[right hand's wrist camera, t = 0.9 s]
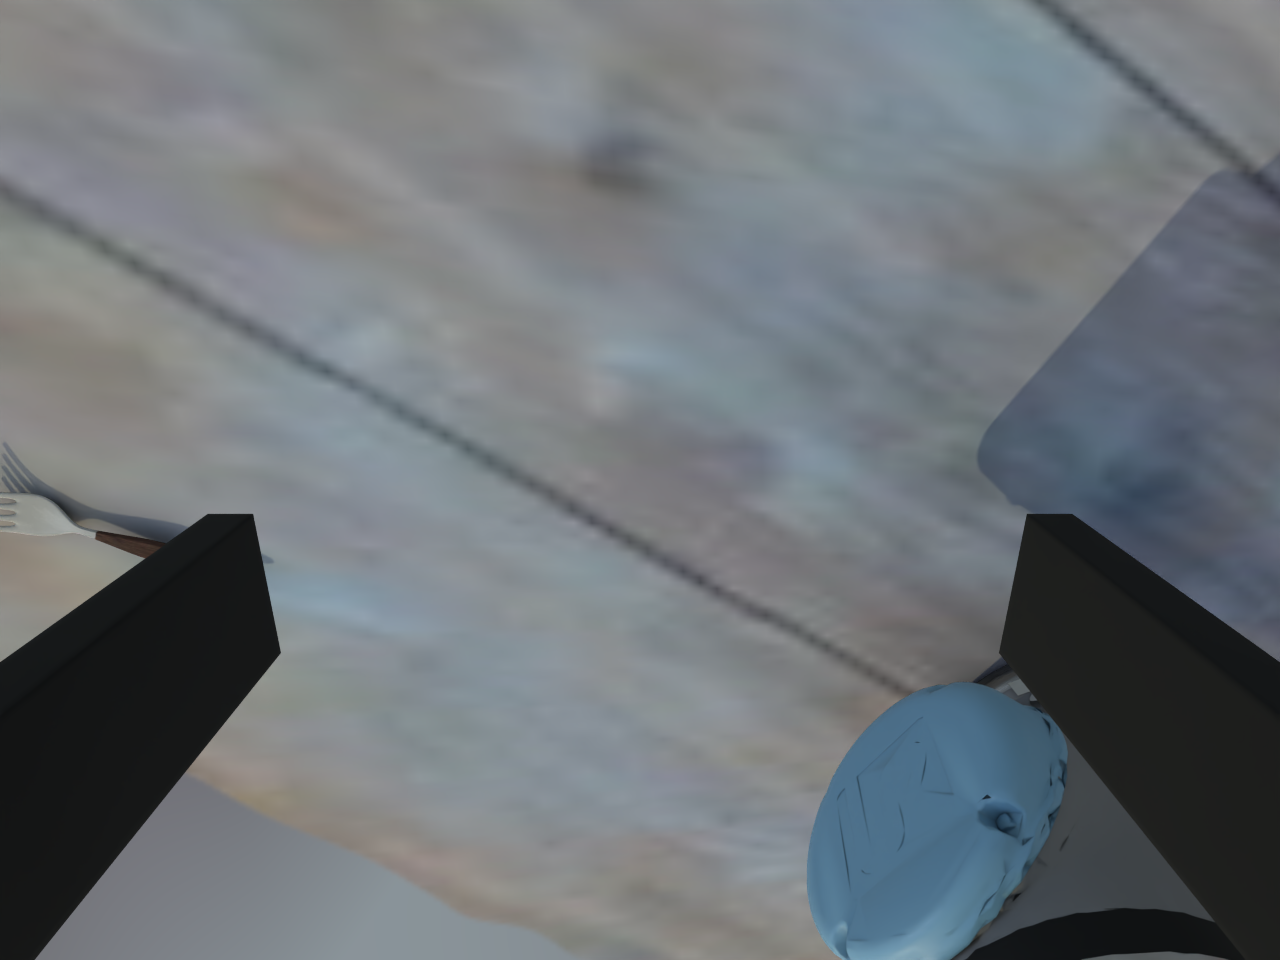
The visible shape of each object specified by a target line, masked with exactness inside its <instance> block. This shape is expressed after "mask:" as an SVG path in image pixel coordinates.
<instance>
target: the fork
mask: <svg viewBox="0 0 1280 960" xmlns="http://www.w3.org/2000/svg"><path fill="white" fill-rule="evenodd" d="M0 498H8V499H13V500H16V503H11V504H0V509H5V510H12V511H15V512H16V513H15V514H13V515H0V520H2V521H10V522H14V523H15V525H13V526H0V531H1V532H13V533H20V534H28V535H36V536H54V535H61V534H67V533H77V534H81V535H85V536H88V537H90V538H93V539H96V540H98V541H101V542H104V543H106V544H109V545H111V546H114V547H116V548H119V549H122V550H124V551H127V552H129V553H132V554H135V555H137V556H140V557H143V558H147V557H148V556H150V555H151V554H153V553H154V552H155V551H157V550H158V549H160V548H161V547H162V546H164V545H165V543H162V542H158V541H154V540H149V539H143V538H138V537H132V536H126V535H120V534H114V533H108V532H103V531H97V530H92V529H87V528H84V527H81V526H79V525H78V524H76V523H75V522H74V521H72V520H71V519H70V518H69V517H68V515H67V514H66V513H65V512H64V511H63V510H62V509H61V508H60V507H59V506H58V505H57V504H56V503H54V502H53V501H52V500H50V499H48V498H46V497H44V496H41V495H37V494H31V493H9V492H0Z"/></svg>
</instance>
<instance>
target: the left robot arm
mask: <svg viewBox="0 0 1280 960" xmlns="http://www.w3.org/2000/svg"><path fill="white" fill-rule="evenodd" d="M807 892H808V899H809V904H810V909H811V913H812V916H813V920H814V922H815V924H816V927H817V929H818V931H819V933H820V935H821V937H822V939H823V940H824V942H825V943H826V944H827V946H828V947H829V948H830V949H831V950H832V951H833V952H834V953H835V954H836V955H837V956H838V957H840V958H841V959H843V960H1245V959H1244V957H1243V956H1242V955H1241V954H1240V952H1239V951H1238V950H1237V949H1236V947H1235V946H1234V945H1233V944H1232V942H1231V941H1230V940H1229V939H1228V937H1227V936H1226V935H1225V934H1224V932H1223V931H1222V930H1221V929H1220V927H1219V926H1218V925H1217V924H1216V922H1215V921H1214V920H1213V919H1212V917H1211V916H1210V915H1209V914H1208V912H1207V911H1206V910H1205V909H1204V907H1203V906H1202V905H1201V904H1200V903H1199V901H1198V900H1197V899H1196V898H1195V896H1194V895H1193V894H1192V893H1191V891H1190V890H1189V889H1188V888H1187V886H1186V885H1185V884H1184V883H1183V881H1182V880H1181V879H1180V878H1179V876H1178V875H1177V874H1176V873H1175V871H1174V870H1173V869H1172V868H1171V866H1170V865H1169V864H1168V863H1167V861H1166V860H1165V859H1164V858H1163V856H1162V855H1161V854H1160V853H1159V851H1158V850H1157V849H1156V848H1155V846H1154V845H1153V844H1152V843H1151V841H1150V840H1149V839H1148V838H1147V836H1146V835H1145V834H1144V833H1143V831H1142V830H1141V829H1140V828H1139V827H1138V825H1137V824H1136V823H1135V822H1134V820H1133V819H1132V818H1131V817H1130V815H1129V814H1128V813H1127V812H1126V810H1125V809H1124V808H1123V807H1122V805H1121V804H1120V803H1119V802H1118V800H1117V799H1116V798H1115V797H1114V795H1113V794H1112V793H1111V792H1110V790H1109V789H1108V788H1107V787H1106V785H1105V784H1104V783H1103V782H1102V780H1101V779H1100V778H1099V777H1098V775H1097V774H1096V773H1095V772H1094V770H1093V769H1092V768H1091V767H1090V765H1089V764H1088V763H1087V762H1086V760H1085V759H1084V758H1083V757H1082V755H1081V754H1080V753H1079V752H1078V751H1077V749H1076V748H1075V747H1074V746H1073V744H1072V743H1071V742H1070V741H1069V739H1068V738H1067V737H1066V736H1065V734H1064V733H1063V732H1062V731H1061V729H1060V728H1059V727H1058V726H1057V724H1056V723H1055V722H1054V721H1053V719H1052V718H1051V717H1050V716H1049V714H1048V713H1047V712H1046V711H1045V709H1044V708H1043V707H1042V706H1041V704H1040V703H1039V702H1038V701H1037V699H1036V698H1035V697H1034V696H1033V694H1032V693H1031V692H1030V691H1029V689H1028V688H1027V687H1026V686H1025V684H1024V683H1023V682H1022V681H1021V679H1020V678H1019V677H1018V676H1017V675H1016V673H1015V672H1014V671H1013V670H1012V668H1011V667H1010V666H1009V665H1006V666H1004V667H1002V668H1000V669H998V670H996V671H994V672H992V673H991V674H989V675H988V676H986V677H984V678H983V679H981V680H980V681H979V682H977V683H971V682H955V683H951V684H949V685H947V686H946V685H936V686H932V687H928V688H924V689H921V690H919V691H917V692H914V693H913V694H911V695H909V696H907V697H905V698H903V699H902V700H900V701H899V702H897V703H896V704H894V705H893V706H891V707H890V708H889V709H888V710H886V711H885V712H884V713H883V714H882V715H880V716H879V717H878V718H877V719H876V720H875V721H874V722H873V723H872V724H871V725H870V726H869V727H868V728H867V729H866V730H865V731H864V732H863V733H862V735H861V736H860V737H859V738H858V739H857V740H856V742H855V743H854V744H853V746H852V747H851V748H850V750H849V751H848V753H847V754H846V756H845V757H844V759H843V760H842V762H841V763H840V765H839V767H838V769H837V770H836V772H835V774H834V776H833V778H832V780H831V782H830V785H829V788H828V790H827V793H826V795H825V796H824V798H823V800H822V802H821V804H820V807H819V810H818V813H817V816H816V820H815V823H814V827H813V831H812V835H811V839H810V845H809V851H808V860H807Z"/></svg>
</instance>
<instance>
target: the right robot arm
mask: <svg viewBox="0 0 1280 960" xmlns="http://www.w3.org/2000/svg"><path fill="white" fill-rule="evenodd" d="M280 653H281V651H280V646H279V641H278V636H277V631H276V626H275V621H274V616H273V611H272V606H271V601H270V596H269V591H268V586H267V581H266V576H265V571H264V566H263V561H262V556H261V551H260V546H259V541H258V536H257V531H256V526H255V521H254V516H253V514H207V515H206V516H204V517H203V518H202V519H200V520H199V521H197V522H196V523H195V524H193V525H192V526H190V527H189V528H188V529H186V530H185V531H183V532H182V533H181V534H179V535H178V536H176V537H175V538H174V539H172V540H171V541H169V542H168V543H167V544H165V545H164V546H162V547H161V548H160V549H158V550H157V551H155V552H154V553H153V554H151V555H150V556H148V557H147V558H146V559H144V560H143V561H141V562H140V563H139V564H137V565H136V566H134V567H133V568H132V569H130V570H129V571H127V572H126V573H125V574H123V575H122V576H120V577H119V578H118V579H116V580H115V581H113V582H112V583H111V584H109V585H108V586H106V587H105V588H104V589H102V590H101V591H99V592H98V593H97V594H95V595H94V596H92V597H91V598H90V599H88V600H87V601H85V602H84V603H83V604H81V605H80V606H78V607H77V608H76V609H74V610H73V611H71V612H70V613H69V614H67V615H66V616H64V617H63V618H62V619H60V620H59V621H57V622H56V623H55V624H53V625H52V626H50V627H49V628H47V629H46V630H45V631H43V632H42V633H40V634H39V635H38V636H36V637H35V638H33V639H32V640H31V641H29V642H28V643H26V644H25V645H24V646H22V647H21V648H19V649H18V650H17V651H15V652H14V653H12V654H11V655H10V656H8V657H7V658H5V659H4V660H3V661H1V662H0V960H35V959H36V957H37V956H38V955H39V954H40V952H41V951H42V950H43V949H44V947H45V946H46V945H47V944H48V942H49V941H50V940H51V939H52V937H53V936H54V935H55V934H56V932H57V931H58V930H59V929H60V927H61V926H62V925H63V924H64V922H65V921H66V920H67V919H68V917H69V916H70V915H71V914H72V912H73V911H74V910H75V909H76V907H77V906H78V905H79V904H80V902H81V901H82V900H83V899H84V898H85V896H86V895H87V894H88V893H89V891H90V890H91V889H92V887H93V886H94V885H95V884H96V883H97V881H98V880H99V879H100V878H101V876H102V875H103V874H104V873H105V871H106V870H107V869H108V868H109V866H110V865H111V864H112V863H113V861H114V860H115V859H116V858H117V856H118V855H119V854H120V853H121V851H122V850H123V849H124V848H125V846H126V845H127V844H128V843H129V841H130V840H131V839H132V838H133V836H134V835H135V834H136V833H137V831H138V830H139V829H140V828H141V826H142V825H143V824H144V823H145V822H146V820H147V819H148V818H149V817H150V815H151V814H152V813H153V812H154V810H155V809H156V808H157V807H158V805H159V804H160V803H161V802H162V800H163V799H164V798H165V797H166V795H167V794H168V793H169V792H170V790H171V789H172V788H173V787H174V785H175V784H176V783H177V782H178V780H179V779H180V778H181V777H182V775H183V774H184V773H185V772H186V770H187V769H188V768H189V767H190V765H191V764H192V763H193V762H194V760H195V759H196V758H197V757H198V755H199V754H200V753H201V752H202V751H203V749H204V748H205V747H206V746H207V744H208V743H209V742H210V741H211V739H212V738H213V737H214V736H215V734H216V733H217V732H218V731H219V729H220V728H221V727H222V726H223V724H224V723H225V722H226V721H227V719H228V718H229V717H230V716H231V714H232V713H233V712H234V711H235V709H236V708H237V707H238V706H239V704H240V703H241V702H242V701H243V699H244V698H245V697H246V696H247V694H248V693H249V692H250V691H251V689H252V688H253V687H254V686H255V684H256V683H257V682H258V681H259V679H260V678H261V677H262V676H263V675H264V673H265V672H266V671H267V670H268V668H269V667H270V666H271V665H272V663H273V662H274V661H275V660H276V658H277V657H278V656H279V655H280ZM999 653H1000V655H1001V656H1002V657H1003V658H1004V660H1005V661H1006V662H1007V663H1008V665H1009V666H1010V667H1011V668H1012V670H1013V671H1014V672H1015V673H1016V675H1017V676H1018V677H1019V678H1020V679H1021V681H1022V682H1023V683H1024V684H1025V686H1026V687H1027V688H1028V689H1029V691H1030V692H1031V693H1032V694H1033V696H1034V697H1035V698H1036V699H1037V701H1038V702H1039V703H1040V704H1041V706H1042V707H1043V708H1044V709H1045V711H1046V712H1047V713H1048V714H1049V716H1050V717H1051V718H1052V719H1053V721H1054V722H1055V723H1056V724H1057V726H1058V727H1059V728H1060V729H1061V731H1062V732H1063V733H1064V734H1065V736H1066V737H1067V738H1068V739H1069V741H1070V742H1071V743H1072V744H1073V746H1074V747H1075V748H1076V749H1077V751H1078V752H1079V753H1080V754H1081V755H1082V757H1083V758H1084V759H1085V760H1086V762H1087V763H1088V764H1089V765H1090V767H1091V768H1092V769H1093V770H1094V772H1095V773H1096V774H1097V775H1098V777H1099V778H1100V779H1101V780H1102V782H1103V783H1104V784H1105V785H1106V787H1107V788H1108V789H1109V790H1110V792H1111V793H1112V794H1113V795H1114V797H1115V798H1116V799H1117V800H1118V802H1119V803H1120V804H1121V805H1122V807H1123V808H1124V809H1125V810H1126V812H1127V813H1128V814H1129V815H1130V817H1131V818H1132V819H1133V820H1134V822H1135V823H1136V824H1137V825H1138V827H1139V828H1140V829H1141V830H1142V831H1143V833H1144V834H1145V835H1146V836H1147V838H1148V839H1149V840H1150V841H1151V843H1152V844H1153V845H1154V846H1155V848H1156V849H1157V850H1158V851H1159V853H1160V854H1161V855H1162V856H1163V858H1164V859H1165V860H1166V861H1167V863H1168V864H1169V865H1170V866H1171V868H1172V869H1173V870H1174V871H1175V873H1176V874H1177V875H1178V876H1179V878H1180V879H1181V880H1182V881H1183V883H1184V884H1185V885H1186V886H1187V888H1188V889H1189V890H1190V891H1191V893H1192V894H1193V895H1194V896H1195V898H1196V899H1197V900H1198V901H1199V903H1200V904H1201V905H1202V906H1203V907H1204V909H1205V910H1206V911H1207V912H1208V914H1209V915H1210V916H1211V917H1212V919H1213V920H1214V921H1215V922H1216V924H1217V925H1218V926H1219V927H1220V929H1221V930H1222V931H1223V932H1224V934H1225V935H1226V936H1227V937H1228V939H1229V940H1230V941H1231V942H1232V944H1233V945H1234V946H1235V947H1236V949H1237V950H1238V951H1239V952H1240V954H1241V955H1242V956H1243V957H1244V959H1245V960H1280V662H1279V661H1277V660H1276V659H1275V658H1273V657H1272V656H1270V655H1269V654H1268V653H1266V652H1265V651H1263V650H1262V649H1261V648H1259V647H1258V646H1256V645H1255V644H1254V643H1252V642H1251V641H1249V640H1248V639H1247V638H1245V637H1244V636H1242V635H1241V634H1240V633H1238V632H1237V631H1235V630H1234V629H1232V628H1231V627H1230V626H1228V625H1227V624H1225V623H1224V622H1223V621H1221V620H1220V619H1218V618H1217V617H1216V616H1214V615H1213V614H1211V613H1210V612H1209V611H1207V610H1206V609H1204V608H1203V607H1202V606H1200V605H1199V604H1197V603H1196V602H1195V601H1193V600H1192V599H1190V598H1189V597H1188V596H1186V595H1185V594H1183V593H1182V592H1181V591H1179V590H1178V589H1176V588H1175V587H1174V586H1172V585H1171V584H1169V583H1168V582H1167V581H1165V580H1164V579H1162V578H1161V577H1160V576H1158V575H1157V574H1155V573H1154V572H1153V571H1151V570H1150V569H1148V568H1147V567H1146V566H1144V565H1143V564H1141V563H1140V562H1139V561H1137V560H1136V559H1134V558H1133V557H1132V556H1130V555H1129V554H1127V553H1126V552H1125V551H1123V550H1122V549H1120V548H1119V547H1118V546H1116V545H1115V544H1113V543H1112V542H1111V541H1109V540H1108V539H1106V538H1105V537H1104V536H1102V535H1101V534H1099V533H1098V532H1097V531H1095V530H1094V529H1092V528H1091V527H1090V526H1088V525H1087V524H1085V523H1084V522H1083V521H1081V520H1080V519H1078V518H1077V517H1076V516H1074V515H1073V514H1027V516H1026V521H1025V526H1024V531H1023V536H1022V541H1021V546H1020V551H1019V556H1018V561H1017V566H1016V571H1015V576H1014V581H1013V586H1012V591H1011V596H1010V601H1009V606H1008V611H1007V616H1006V621H1005V626H1004V631H1003V636H1002V641H1001V646H1000V651H999Z"/></svg>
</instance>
